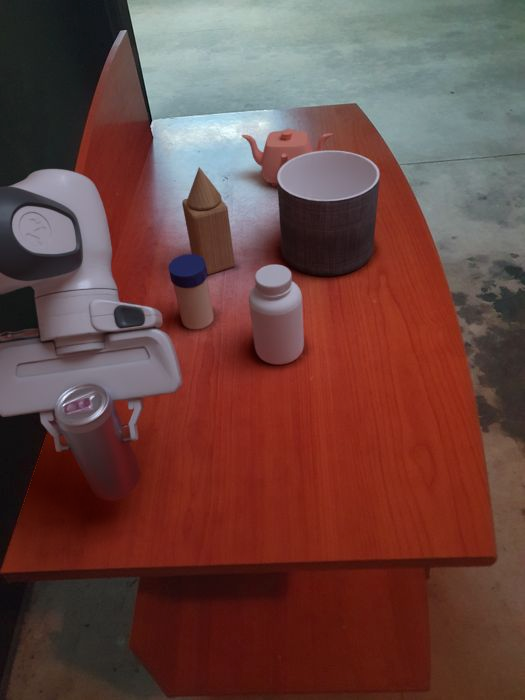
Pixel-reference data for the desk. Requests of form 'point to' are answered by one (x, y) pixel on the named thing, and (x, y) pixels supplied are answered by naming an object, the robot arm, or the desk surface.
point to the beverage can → (97, 440)
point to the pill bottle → (276, 315)
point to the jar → (195, 305)
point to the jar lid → (188, 270)
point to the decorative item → (208, 225)
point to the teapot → (282, 150)
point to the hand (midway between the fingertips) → (98, 445)
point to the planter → (328, 211)
